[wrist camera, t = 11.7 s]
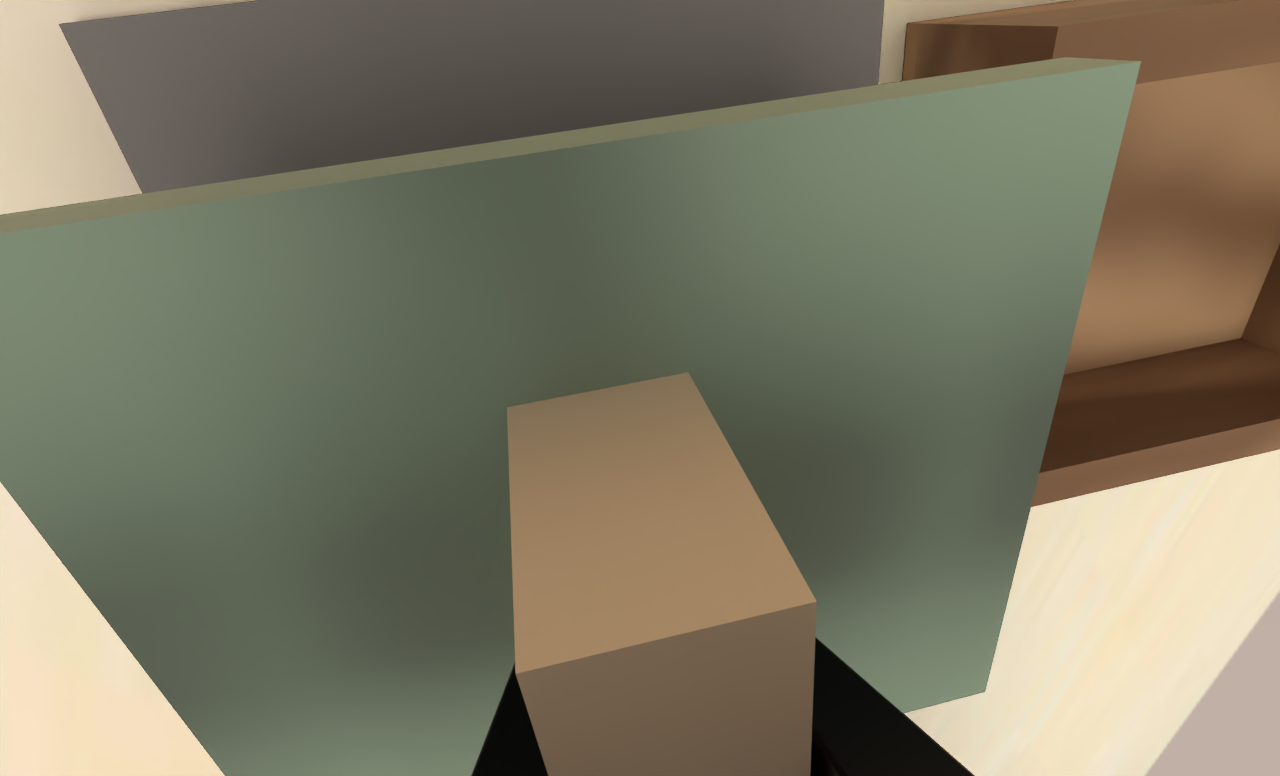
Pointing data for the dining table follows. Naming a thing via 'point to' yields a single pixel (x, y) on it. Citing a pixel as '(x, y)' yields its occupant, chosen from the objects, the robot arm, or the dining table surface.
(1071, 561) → the dining table surface
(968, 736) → the dining table surface
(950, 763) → the robot arm
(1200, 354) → the toolbox
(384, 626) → the lid
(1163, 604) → the dining table surface
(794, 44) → the mat
